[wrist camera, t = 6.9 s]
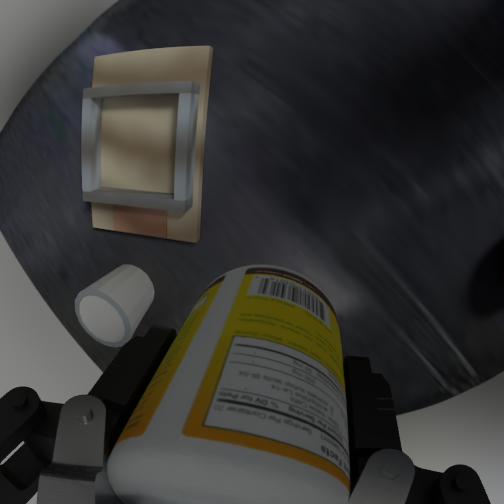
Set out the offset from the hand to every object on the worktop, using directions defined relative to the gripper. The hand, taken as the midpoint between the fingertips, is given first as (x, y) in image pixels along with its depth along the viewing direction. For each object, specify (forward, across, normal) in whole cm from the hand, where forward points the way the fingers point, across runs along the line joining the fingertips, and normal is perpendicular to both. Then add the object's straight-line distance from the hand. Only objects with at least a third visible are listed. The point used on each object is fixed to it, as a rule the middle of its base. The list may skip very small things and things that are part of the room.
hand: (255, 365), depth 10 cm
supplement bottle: (+3, 0, 0) cm, 3 cm away
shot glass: (+20, +16, +11) cm, 28 cm away
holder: (+20, +14, -5) cm, 25 cm away
